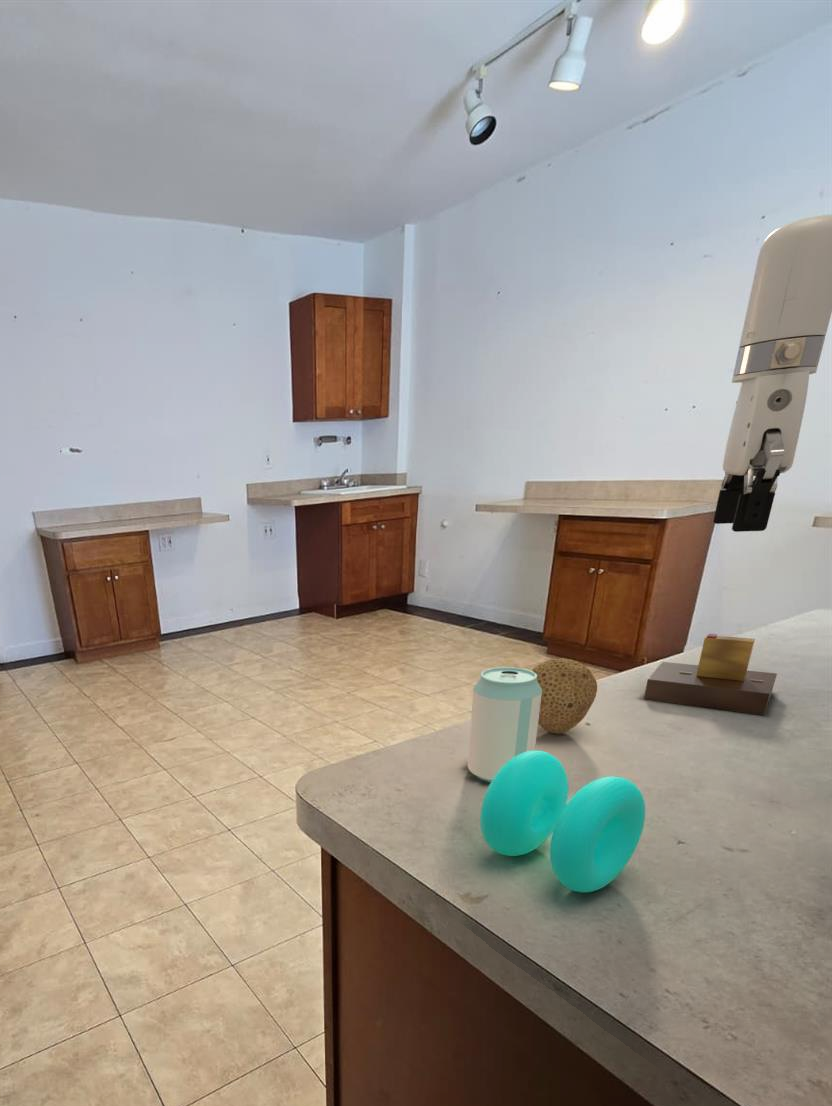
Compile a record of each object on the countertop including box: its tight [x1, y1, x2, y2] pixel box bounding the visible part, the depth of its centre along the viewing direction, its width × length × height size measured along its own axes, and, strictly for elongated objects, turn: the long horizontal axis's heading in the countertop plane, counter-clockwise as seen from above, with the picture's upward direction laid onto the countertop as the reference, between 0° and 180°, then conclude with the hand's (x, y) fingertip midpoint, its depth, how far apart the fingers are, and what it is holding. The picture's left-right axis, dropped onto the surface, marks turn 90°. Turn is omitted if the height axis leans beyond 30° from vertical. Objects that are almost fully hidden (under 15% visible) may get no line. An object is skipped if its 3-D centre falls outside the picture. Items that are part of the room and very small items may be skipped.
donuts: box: [479, 749, 646, 893], centre depth 55 cm, size 10×10×10 cm
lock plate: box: [643, 661, 778, 716], centre depth 91 cm, size 14×10×3 cm
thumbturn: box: [696, 633, 756, 681], centre depth 88 cm, size 6×2×6 cm, turn 50°
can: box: [467, 666, 542, 783], centre depth 72 cm, size 7×7×12 cm
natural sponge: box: [530, 657, 598, 735], centre depth 82 cm, size 9×9×10 cm
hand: (737, 526), depth 78 cm, fingers open, 9 cm apart
